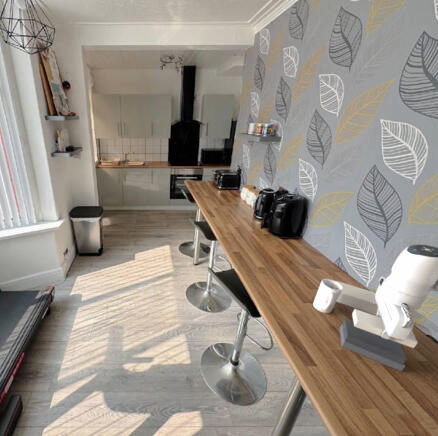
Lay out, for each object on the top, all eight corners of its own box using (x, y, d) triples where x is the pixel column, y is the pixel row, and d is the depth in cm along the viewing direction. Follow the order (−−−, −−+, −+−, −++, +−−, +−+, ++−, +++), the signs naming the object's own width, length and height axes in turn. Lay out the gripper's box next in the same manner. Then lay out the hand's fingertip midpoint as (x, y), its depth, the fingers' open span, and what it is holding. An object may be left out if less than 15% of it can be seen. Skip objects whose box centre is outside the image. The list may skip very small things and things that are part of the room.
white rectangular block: (374, 302, 100) (379, 293, 98) (378, 316, 93) (384, 306, 91) (331, 288, 108) (335, 280, 106) (332, 300, 101) (337, 291, 99)
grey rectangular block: (393, 350, 80) (400, 339, 78) (401, 371, 73) (409, 361, 71) (339, 328, 87) (344, 318, 85) (341, 346, 80) (347, 336, 78)
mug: (312, 299, 101) (321, 276, 96) (331, 305, 98) (341, 282, 93) (312, 314, 93) (322, 290, 88) (333, 322, 90) (344, 297, 85)
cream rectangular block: (407, 333, 75) (410, 327, 74) (413, 348, 70) (417, 342, 69) (352, 314, 82) (354, 308, 81) (354, 326, 77) (357, 320, 76)
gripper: (429, 322, 61) (404, 358, 66) (405, 281, 77) (386, 312, 82) (396, 312, 64) (374, 347, 69) (379, 274, 80) (363, 305, 85)
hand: (381, 328), depth 76 cm, fingers closed on cream rectangular block, 6 cm apart
